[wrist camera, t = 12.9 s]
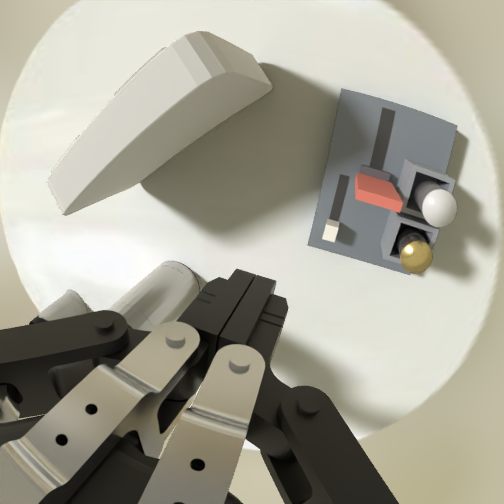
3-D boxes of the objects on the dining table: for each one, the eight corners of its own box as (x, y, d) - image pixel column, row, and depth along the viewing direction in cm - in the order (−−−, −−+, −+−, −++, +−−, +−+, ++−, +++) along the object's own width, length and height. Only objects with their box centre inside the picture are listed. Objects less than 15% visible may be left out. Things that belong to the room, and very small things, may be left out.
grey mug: (82, 294, 68) (42, 326, 55) (95, 336, 74) (61, 369, 61) (62, 285, 70) (23, 314, 57) (75, 326, 76) (42, 356, 64)
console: (407, 265, 40) (415, 294, 33) (310, 237, 44) (301, 261, 37) (450, 124, 31) (471, 127, 24) (342, 90, 34) (339, 83, 27)
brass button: (417, 256, 33) (425, 277, 29) (391, 248, 34) (395, 268, 29) (427, 230, 31) (437, 247, 27) (400, 221, 32) (407, 237, 28)
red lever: (386, 196, 35) (396, 222, 26) (352, 186, 35) (352, 209, 27) (392, 173, 33) (406, 192, 25) (358, 163, 34) (360, 178, 25)
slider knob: (335, 236, 39) (334, 242, 37) (323, 232, 39) (322, 239, 37) (339, 221, 38) (338, 227, 36) (327, 218, 38) (325, 224, 36)
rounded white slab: (249, 45, 34) (181, 7, 19) (277, 88, 36) (224, 69, 21) (116, 149, 48) (34, 173, 32) (136, 185, 49) (57, 221, 34)
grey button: (437, 215, 29) (449, 231, 24) (409, 206, 30) (418, 220, 25) (447, 185, 27) (461, 197, 23) (418, 174, 28) (429, 184, 24)
